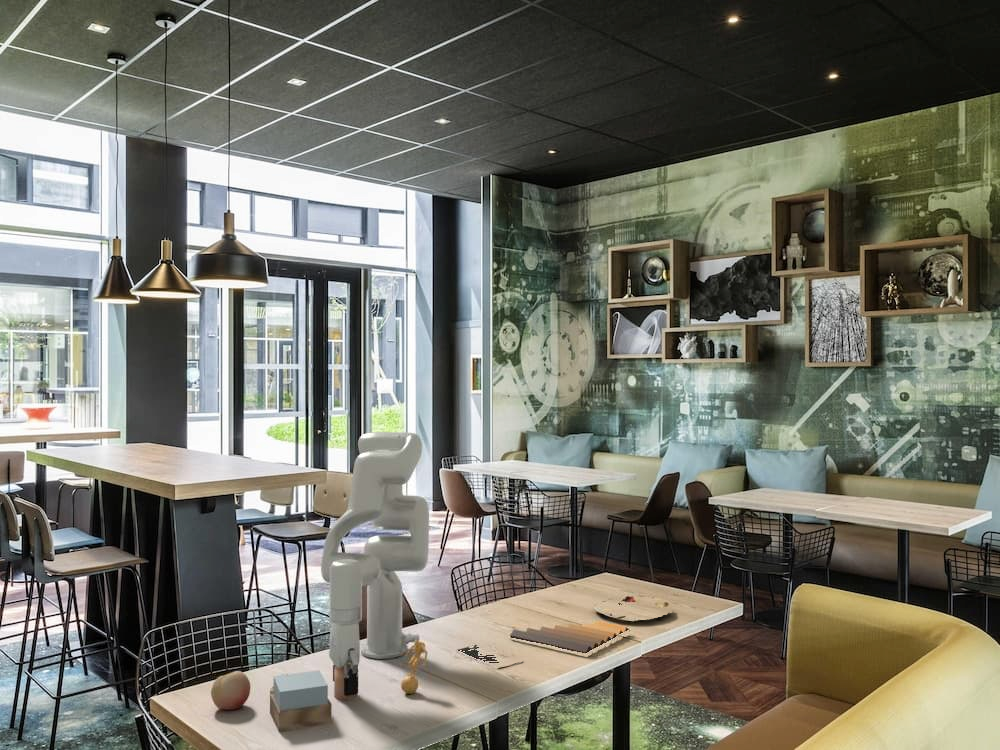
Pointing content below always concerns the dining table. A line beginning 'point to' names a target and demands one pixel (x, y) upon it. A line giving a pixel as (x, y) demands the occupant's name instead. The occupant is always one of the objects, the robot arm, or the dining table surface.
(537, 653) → the dining table surface
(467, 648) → the cell phone
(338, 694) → the terracotta cylinder
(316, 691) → the top block
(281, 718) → the bottom block
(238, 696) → the fruit
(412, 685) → the figurine
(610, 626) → the pan flute
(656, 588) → the dining table surface
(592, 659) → the dining table surface
